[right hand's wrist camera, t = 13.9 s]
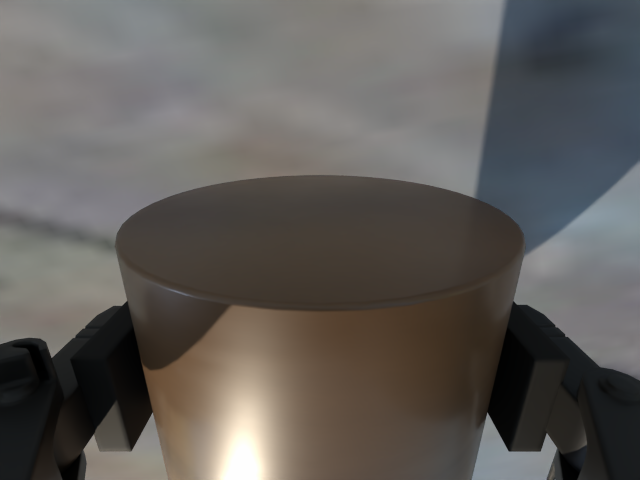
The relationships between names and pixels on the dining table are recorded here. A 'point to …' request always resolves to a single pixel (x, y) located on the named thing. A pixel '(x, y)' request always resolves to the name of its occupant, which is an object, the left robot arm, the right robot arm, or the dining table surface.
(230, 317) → the rod
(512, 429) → the right robot arm
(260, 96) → the dining table surface
